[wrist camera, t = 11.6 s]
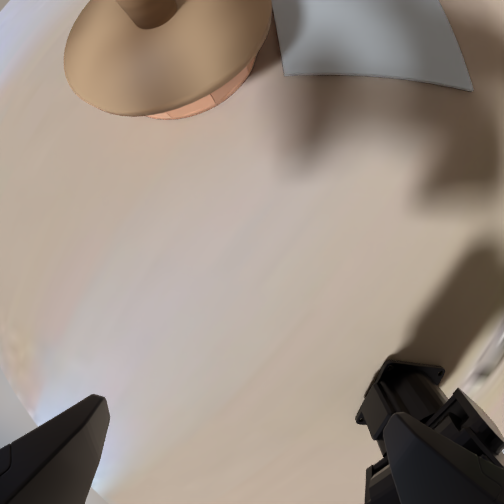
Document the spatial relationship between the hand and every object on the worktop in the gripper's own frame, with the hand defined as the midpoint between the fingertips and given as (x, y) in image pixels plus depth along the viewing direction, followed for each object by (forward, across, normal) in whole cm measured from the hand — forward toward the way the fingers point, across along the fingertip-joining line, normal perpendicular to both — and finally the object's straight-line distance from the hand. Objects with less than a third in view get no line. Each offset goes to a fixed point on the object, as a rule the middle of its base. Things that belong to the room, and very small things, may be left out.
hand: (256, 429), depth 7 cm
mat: (+13, -7, -24) cm, 28 cm away
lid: (+10, +7, -16) cm, 20 cm away
